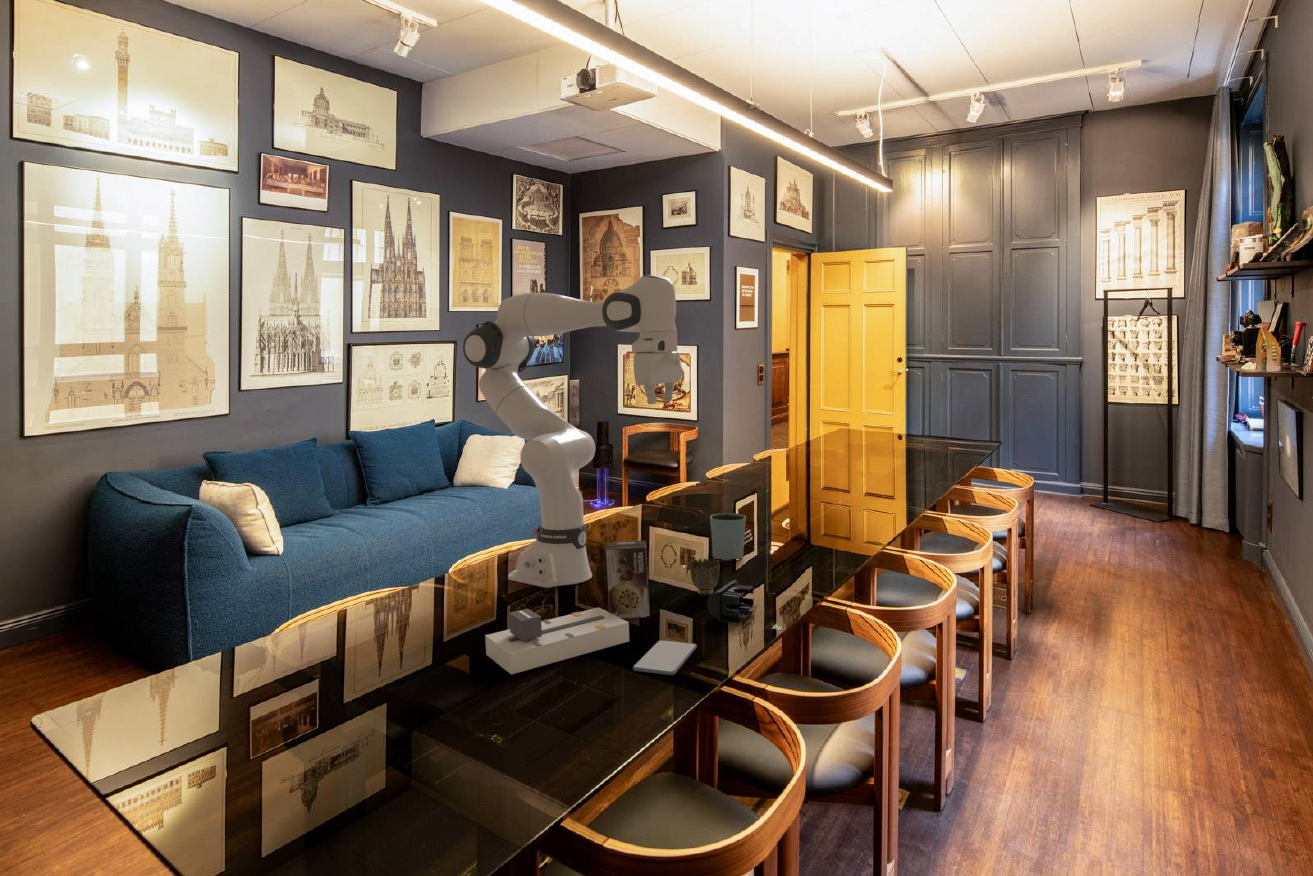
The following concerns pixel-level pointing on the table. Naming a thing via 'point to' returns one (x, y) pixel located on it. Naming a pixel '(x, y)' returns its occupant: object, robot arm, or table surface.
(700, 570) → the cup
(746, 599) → the end cap
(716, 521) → the blue plant pot
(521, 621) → the fader knob
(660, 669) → the smartphone
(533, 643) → the fader console
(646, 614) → the coffee box
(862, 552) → the table surface
